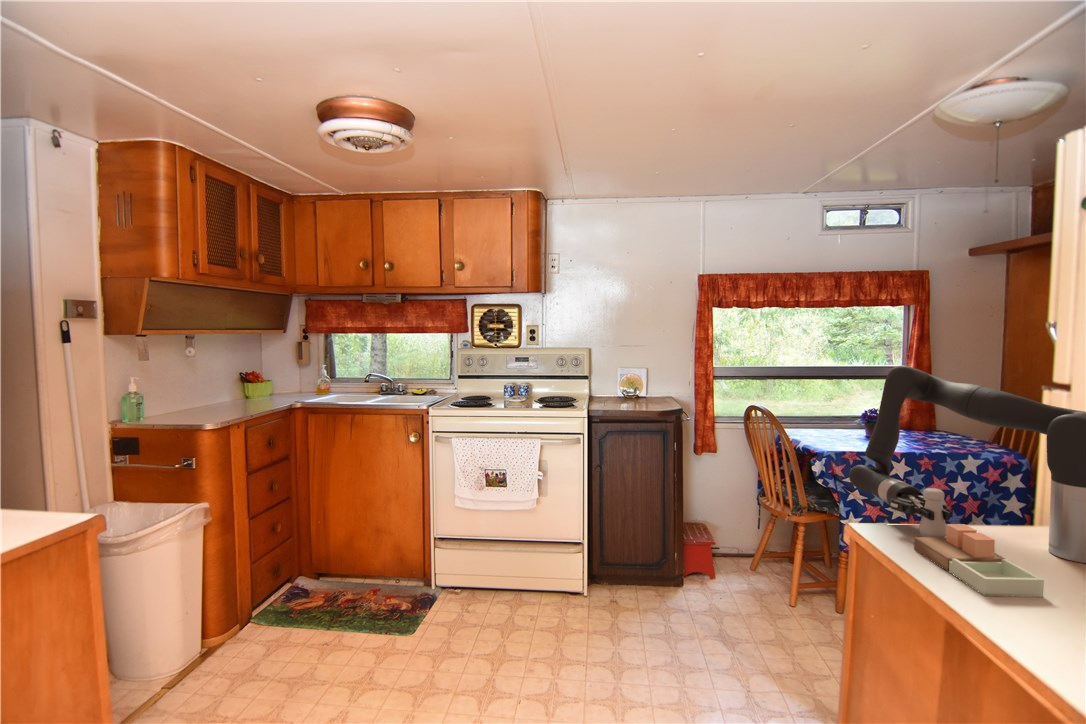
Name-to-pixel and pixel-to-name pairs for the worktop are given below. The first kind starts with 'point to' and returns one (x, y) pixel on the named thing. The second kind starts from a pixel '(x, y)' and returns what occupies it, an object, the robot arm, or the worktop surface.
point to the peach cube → (978, 545)
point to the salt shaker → (934, 504)
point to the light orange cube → (957, 533)
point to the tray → (998, 578)
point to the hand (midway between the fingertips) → (940, 516)
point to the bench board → (946, 551)
